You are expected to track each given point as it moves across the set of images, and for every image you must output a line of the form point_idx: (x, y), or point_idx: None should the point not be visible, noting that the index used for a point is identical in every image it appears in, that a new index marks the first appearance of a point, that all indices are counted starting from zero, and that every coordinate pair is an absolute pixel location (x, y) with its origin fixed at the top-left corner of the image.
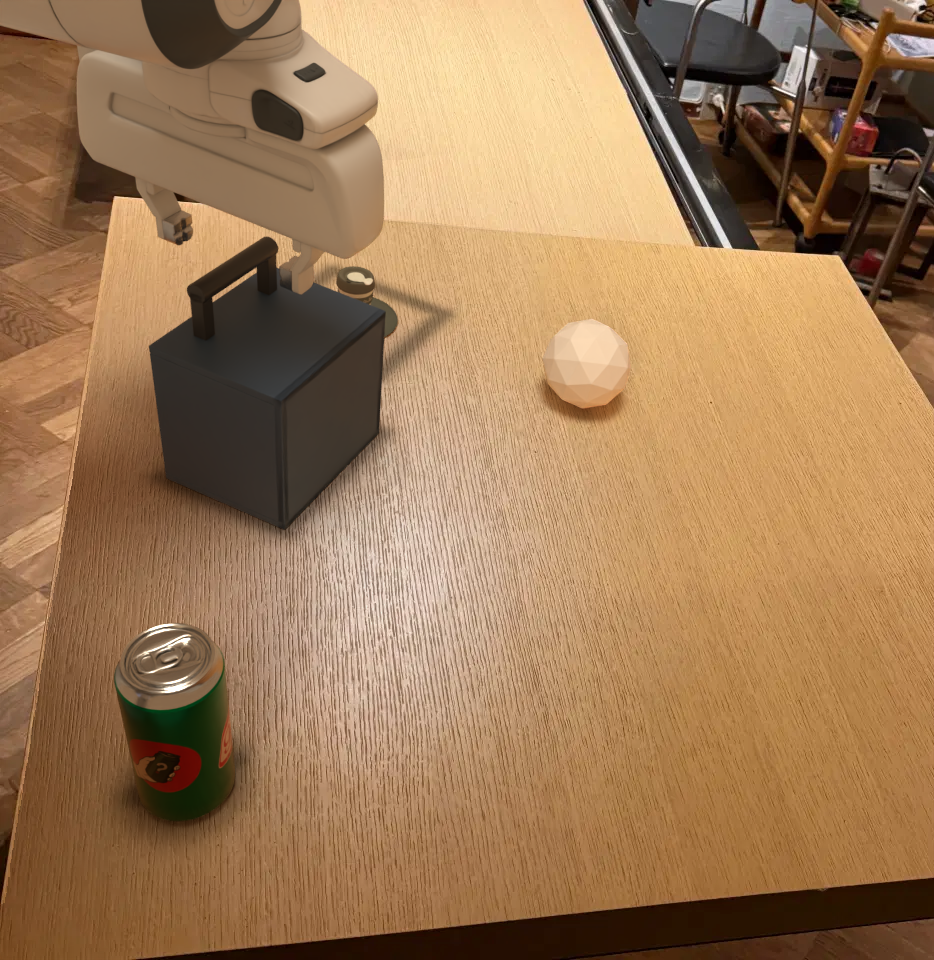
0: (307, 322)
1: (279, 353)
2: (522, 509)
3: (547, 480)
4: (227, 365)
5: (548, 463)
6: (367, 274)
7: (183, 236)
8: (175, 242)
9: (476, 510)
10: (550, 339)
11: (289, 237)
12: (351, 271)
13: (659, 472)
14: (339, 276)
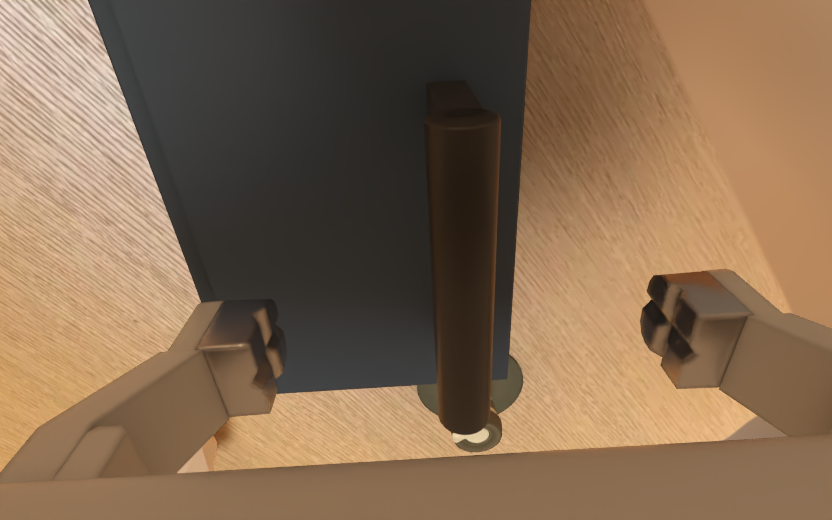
0: (309, 286)
1: (259, 158)
2: (56, 229)
3: (82, 289)
4: (308, 28)
5: (108, 314)
6: (467, 445)
7: (659, 312)
8: (664, 275)
9: (93, 193)
10: (203, 471)
11: (26, 484)
12: (489, 439)
13: (11, 370)
14: (493, 425)
